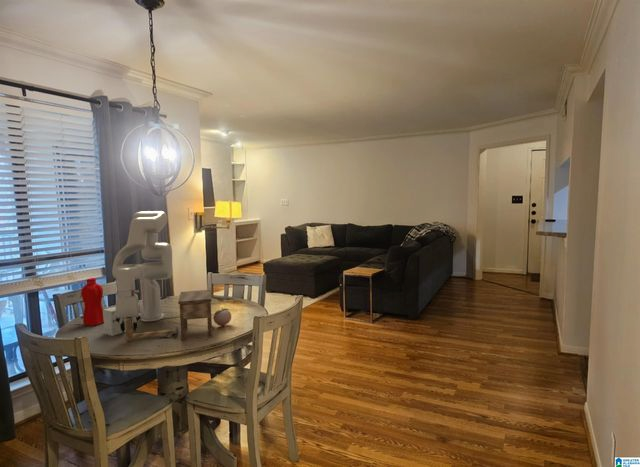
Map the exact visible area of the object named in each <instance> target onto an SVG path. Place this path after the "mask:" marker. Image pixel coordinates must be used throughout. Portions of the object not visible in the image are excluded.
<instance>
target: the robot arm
mask: <svg viewBox="0 0 640 467" xmlns="http://www.w3.org/2000/svg"><path fill="white" fill-rule="evenodd" d="M167 224H168V215H167V213H166V212H165V211H162V210H154V211H153V210H152V211H151V210H147V211H145V210H144V211H137V212H135V213H133V218H132V220H131V222H130V225H129V233H128V237H127V242H126V245H124V246H123V247H122V248H121V249H120V250H118V252H117V253H116V255H115V257H114V259H113V264H112V272H111V273H112V277H113V279H115V280H116V285H117V296H116V298H115V306H116V312H115V313H114V314H113V316H112V319H114V320H116V321H117V322H119V324H120V328H121V330H122V332H123V333H125V332H124V331H125V324H126V322H125V323H124V321H123V319H124V318H126V317H132V321H133V322H132V328H133V332H136V330H137V329H138V321H141V322H146V323H148V322H156V321H160V320H162V319H164V318H165V313H162V305H161V303H162V301H161V286H160V284H159V283H158V282H157V280H168V279H170V278H171V277H172V275H173V249H172V246H171V244H170V243H168V242H159V234H158V233H160V232H161V231H162V230H163V229H164V228H165V226H166V225H167ZM138 252H141V258H142V259H143V260H146V261H155V262H144V263H141V264H140V263H127V264H125V263H124V261H125V260H127V259H128V257H130V256H132V255H133V254H135V253H138ZM157 261H158V262H157ZM160 261H162V262H160ZM136 280H139V281H140V290H141V305H142V309H141V306H140V299H139V295H138V294H139V293H140V291H139V289H136V283H135V281H136Z"/></svg>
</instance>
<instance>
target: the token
mask: <svg viewBox="0 0 640 467" xmlns="http://www.w3.org/2000/svg"><path fill="white" fill-rule="evenodd" d="M164 335H165V338H173V337H174V334H164Z"/></svg>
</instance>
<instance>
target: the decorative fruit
mask: <svg viewBox="0 0 640 467" xmlns="http://www.w3.org/2000/svg"><path fill="white" fill-rule="evenodd" d="M212 319H213V321H214V323H215V324H217V325H218V326H219V327H225V326H226V325H228V324H230V322H231V320H232V313H231V310H230V309H228V308H223V307H221V309H218V310H216V311H215V312H214V314H213V318H212Z"/></svg>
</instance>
